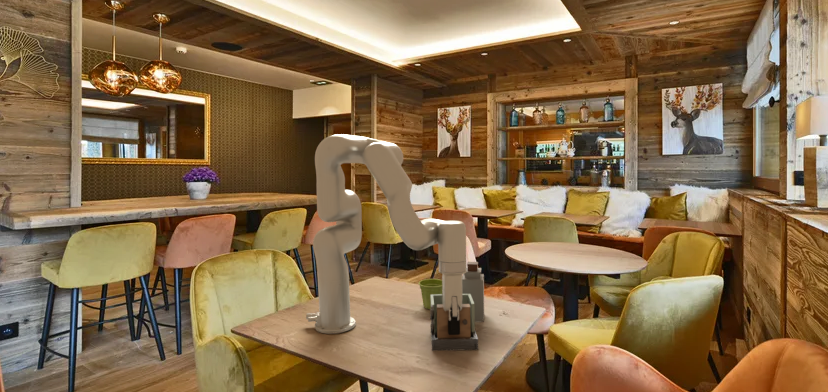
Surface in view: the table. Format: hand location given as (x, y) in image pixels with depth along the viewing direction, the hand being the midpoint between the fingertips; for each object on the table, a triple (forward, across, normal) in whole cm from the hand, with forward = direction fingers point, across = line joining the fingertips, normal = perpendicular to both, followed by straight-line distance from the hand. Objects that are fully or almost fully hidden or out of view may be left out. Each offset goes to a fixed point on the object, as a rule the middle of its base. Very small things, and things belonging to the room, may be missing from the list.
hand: (453, 331), depth 114 cm
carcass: (+4, -6, 0) cm, 8 cm away
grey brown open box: (+4, 0, 0) cm, 4 cm away
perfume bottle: (+4, -20, +8) cm, 22 cm away
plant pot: (+4, -31, -5) cm, 32 cm away
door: (+3, 0, 0) cm, 3 cm away
